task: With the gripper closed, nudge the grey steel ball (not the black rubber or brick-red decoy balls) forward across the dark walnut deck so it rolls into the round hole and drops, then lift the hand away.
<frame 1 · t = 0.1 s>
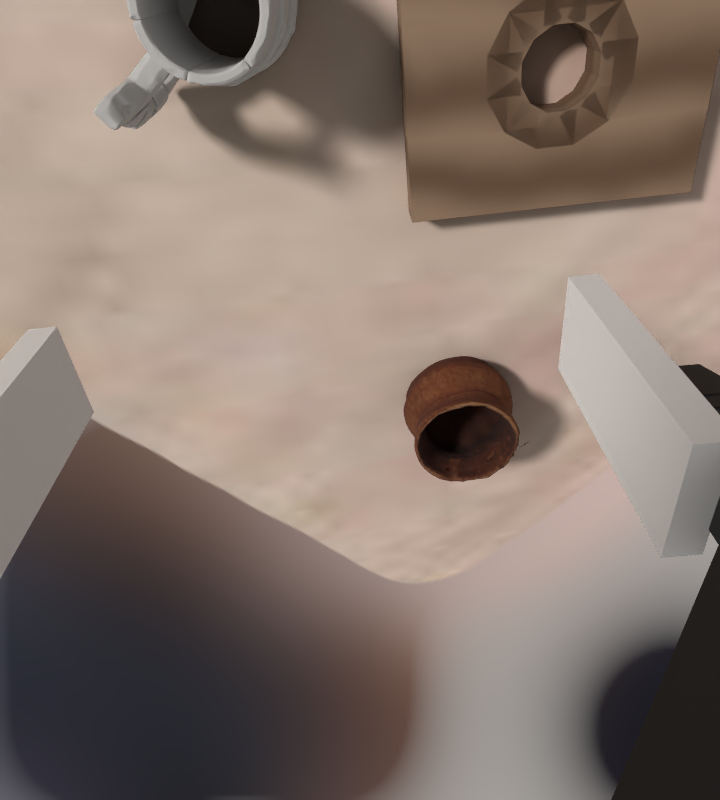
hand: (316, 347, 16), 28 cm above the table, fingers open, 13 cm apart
mug: (210, 27, 36), on the table
ceramic pot: (453, 390, 52), on the table
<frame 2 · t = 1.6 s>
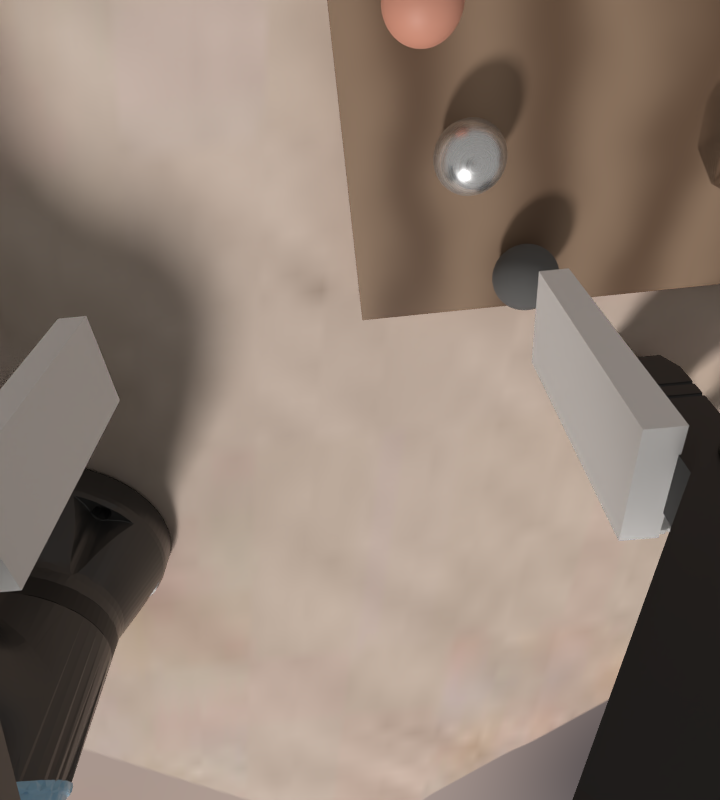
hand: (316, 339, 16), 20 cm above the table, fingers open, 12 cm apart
deck: (626, 118, 32), on the table
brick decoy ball: (422, 0, 25), point 4 cm above the table, touching deck
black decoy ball: (525, 277, 33), point 4 cm above the table, touching deck
steel ball: (469, 157, 29), point 4 cm above the table, touching deck
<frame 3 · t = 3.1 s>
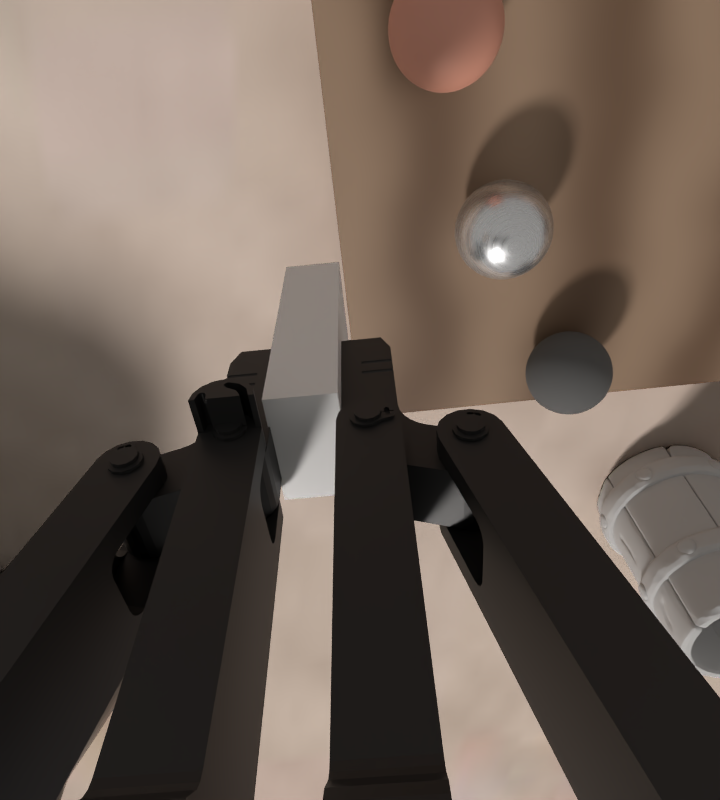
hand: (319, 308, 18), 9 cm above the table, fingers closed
mug: (671, 506, 37), on the table
deck: (695, 173, 25), on the table
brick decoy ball: (445, 28, 18), point 4 cm above the table, touching deck
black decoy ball: (568, 372, 26), point 4 cm above the table, touching deck
steel ball: (503, 230, 22), point 4 cm above the table, touching deck
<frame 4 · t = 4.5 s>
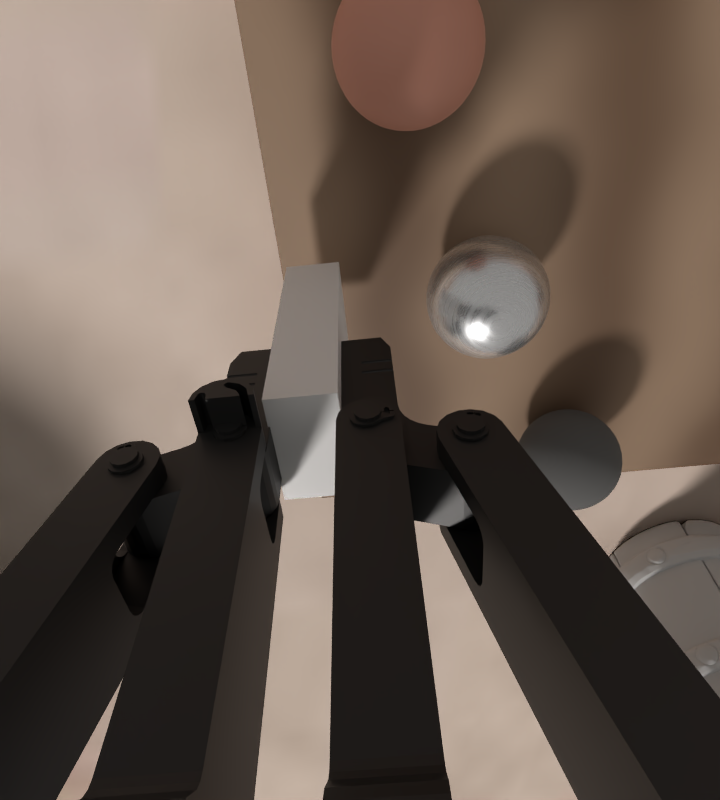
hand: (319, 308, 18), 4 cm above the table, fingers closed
mug: (685, 581, 32), on the table
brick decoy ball: (407, 47, 14), point 4 cm above the table, touching deck
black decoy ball: (567, 459, 21), point 4 cm above the table, touching deck
steel ball: (487, 298, 18), point 4 cm above the table, touching deck
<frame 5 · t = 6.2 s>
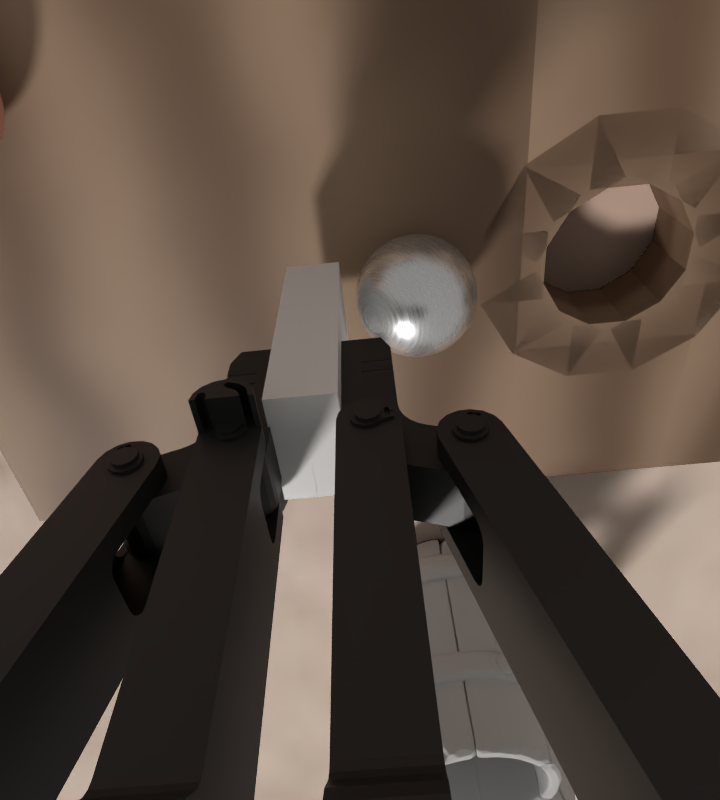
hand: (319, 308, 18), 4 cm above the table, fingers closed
mug: (467, 597, 33), on the table
deck: (388, 251, 21), on the table
steel ball: (416, 296, 18), point 4 cm above the table, tilted 50°, touching deck
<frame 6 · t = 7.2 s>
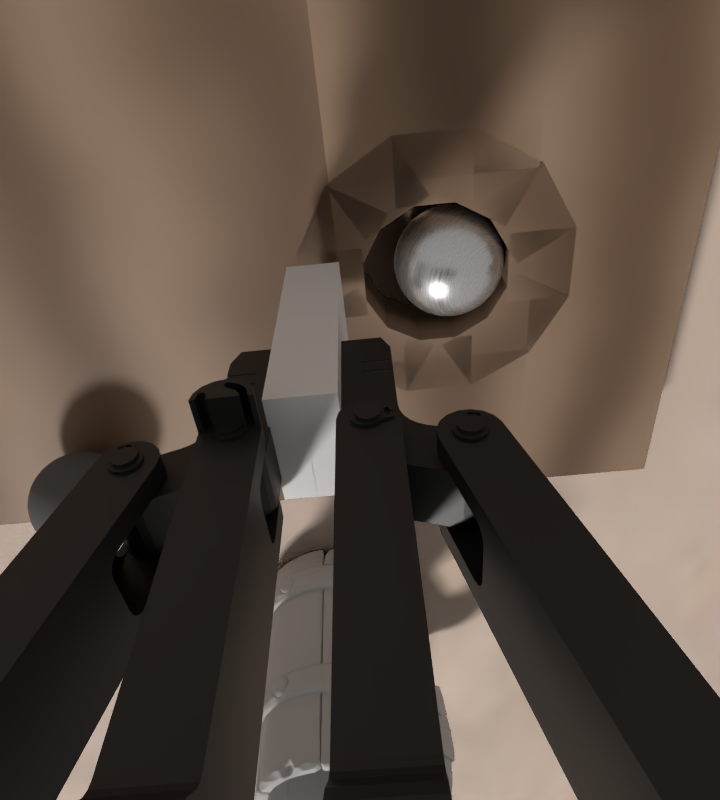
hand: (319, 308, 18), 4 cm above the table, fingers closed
mug: (363, 606, 33), on the table
deck: (227, 266, 21), on the table
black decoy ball: (83, 500, 22), point 4 cm above the table, touching deck
steel ball: (448, 261, 20), point 2 cm above the table, tilted 141°
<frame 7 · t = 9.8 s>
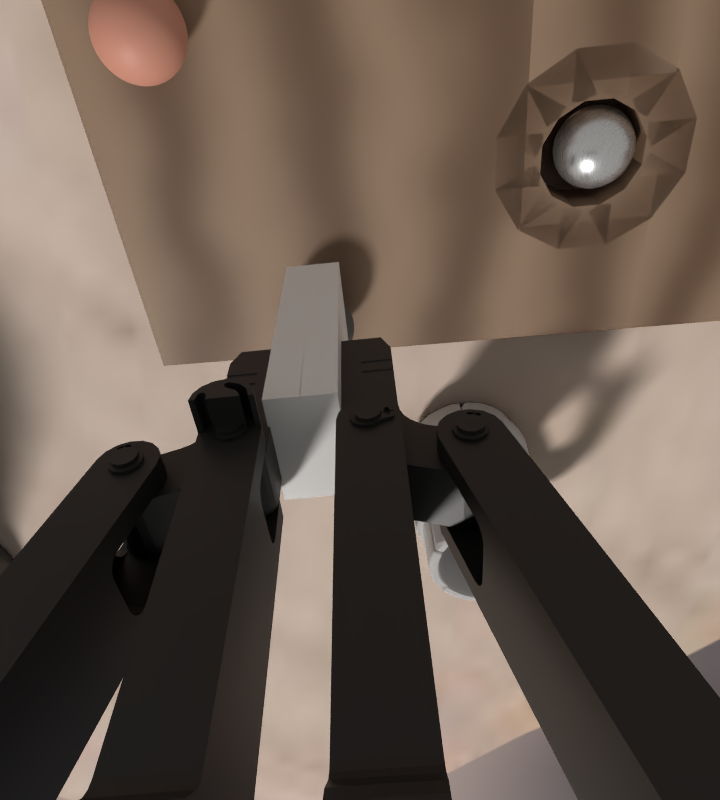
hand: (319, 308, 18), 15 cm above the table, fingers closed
mug: (481, 459, 41), on the table
deck: (428, 156, 29), on the table
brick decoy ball: (139, 33, 23), point 4 cm above the table, touching deck
steel ball: (593, 147, 27), point 2 cm above the table, tilted 149°
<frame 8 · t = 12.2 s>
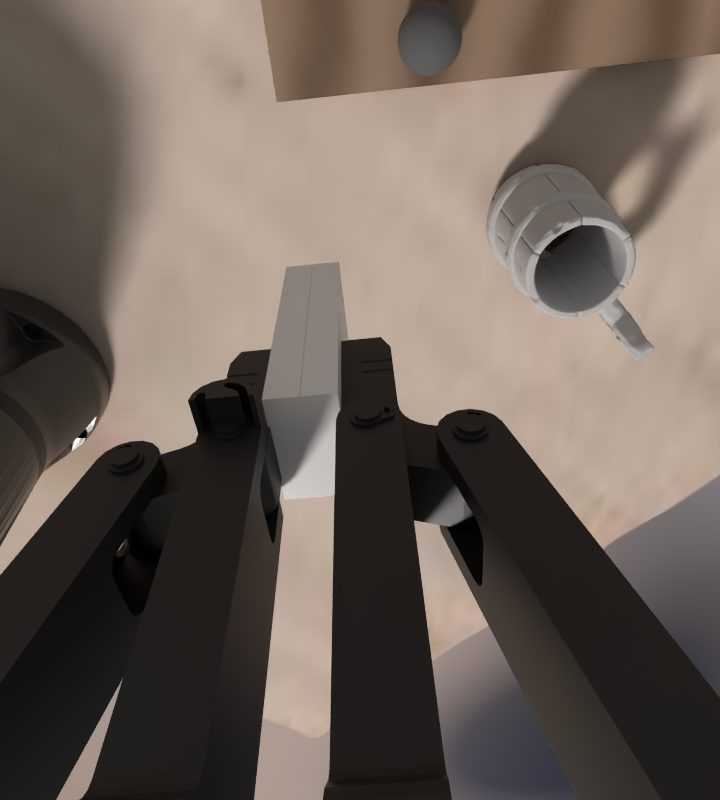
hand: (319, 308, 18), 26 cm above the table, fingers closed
mug: (551, 234, 44), on the table
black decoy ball: (429, 39, 33), point 4 cm above the table, touching deck
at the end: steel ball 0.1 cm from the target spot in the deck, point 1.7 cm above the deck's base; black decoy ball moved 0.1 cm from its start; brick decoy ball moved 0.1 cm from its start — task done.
